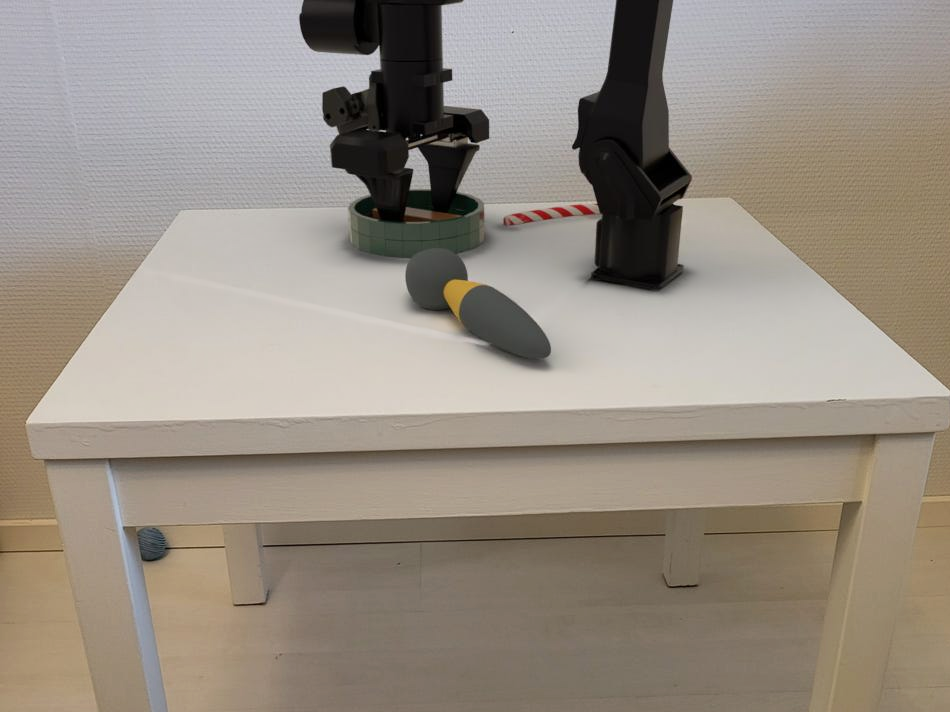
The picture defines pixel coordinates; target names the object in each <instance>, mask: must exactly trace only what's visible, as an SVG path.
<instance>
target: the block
mask: <svg viewBox="0 0 950 712" xmlns="http://www.w3.org/2000/svg"><path fill="white" fill-rule="evenodd" d="M372 213H373V219H379V220H381V219H380V216H379V214H378V211H377V209H376V208H375V209H373V210H372ZM457 217H461V215H454V214H448V213H441V212H435V211H428V210H422V209H415V208H409V207H406V211H405V216H404V221H403V222H429V221H440V220H447V219H453V218H457Z"/></svg>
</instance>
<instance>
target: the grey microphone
mask: <svg viewBox="0 0 950 712" xmlns="http://www.w3.org/2000/svg"><path fill="white" fill-rule="evenodd" d="M404 279H405V285H406V289H407V292H408V294H409V296H410V297H411V299H412V300H413V301H414V302H415V304H417V305H418V306H419V307H421V308H423V309H426V310H430V311H443V310H447V309H451V310H452V313H453V314H454V316H455V317H456V318H457V320H458V321H459V322H460V323H461V324H462V326H463V327H465V328H466V329H467V330H468V331H469V332H470V333H473V334H474V335H475V336H477V337H478V338H480V339H481V340H483V341H485V342H487V343H488V344H490V345H492V346H493V347H496V348H499V349H501V350H503V351H505V352H508V353H511V354H514V355H516V356H519V357H523V358H526V359H534V360H542V359H545V358H548V357H550V355H551V353H552V347H551V342H550V340H549V338H548V336H547V334H546V333H545V332H544V330H543V329H542V328H541V326H540V325H539V324H538V323H537V322H536V320H535V319H534V318H533V317H532V316H531V315H530V314H529V313H528V312H527V311H526V310H525V309H523V307H521V306H520V305H519V304H518V303H517V302H516V301H514V300H513V299H511V298H510V297H509V296H507V295H506V294H505V293H503V292H501V291H500V290H498V289H497V288H495V287H493V286H491V285H488V284H484V283H480V282H476V281H470V280H469V275H468V269H467V266H466V264H465V263H464V261H463V259H462V258H461V257H460V256H459V255H458V254H455V253H454V252H452V251H450V250H447V249H442V248H432V249H427V250H424V251H422V252H419V253H417V254H416V255H414V256H413V257H412V258H409V260H408V262H407V264H406V268H405V277H404Z"/></svg>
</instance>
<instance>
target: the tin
mask: <svg viewBox="0 0 950 712" xmlns="http://www.w3.org/2000/svg"><path fill="white" fill-rule="evenodd" d="M406 207H409V208H415V209H422V210H428V211H433V205H432V197H431V188H410V190H409V195H408V201H407V206H406ZM375 208H376V206H375V204H374V201H373V199H372V197H371V195H370V194H367V195H364V196H361V197H358V198H356V199H355V200H353V201H352V202H350V203H349V205H348V207H347V214H348V215H347V216H348V229H349V230H348V231H349V240H350V243H351V245H352V246H353V247H354V248H356V249H357V250H359V251H361V252H364V253H367V254H371V255H375V256H378V257H379V256H381V257H387V258H393V259H395V258H397V259H411V258H412V257H413V256H414V255H416V254H417V253H419V252H422V251H424V250H427V249H432V248H442V249H447V250H450V251H452V252H454V253H455V254H457V255H458V254H462V253H465V252H468V251H471V250H473V249H476V248H478V247H479V246H481V245H482V244H483V242H484V240H485V202H484V201H483V200H482V199H481V198H479V197H477V196H474V195H472V194H468V193H464V192H461V191H457V192H456V195H455V197H454V199H453V202H452V204H451V206H450V208H449V211H448V214H454V215H461V217H457V218H453V219H447V220H440V221H429V222H395V221H385V220H379V219H373V213H372V210H373V209H375Z"/></svg>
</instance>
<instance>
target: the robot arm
mask: <svg viewBox="0 0 950 712" xmlns="http://www.w3.org/2000/svg"><path fill="white" fill-rule="evenodd" d="M463 2H464V0H303V1H302V4H301V10H300V13H299V16H298V17H299V18H298V21H299V28H300V33H301V36H302V38H303V40H304V42H305V44H306V46H307V47H308V48H309V49H310V50H312V51H313V52H316V53H327V54H343V55H344V54H345V55H359V56H370V55H372V54H373V53H375V52H376V51H377V49H378V48H379V50H378V51H379V67H380V69H379V68H378V69H375V70H371V71H370V74H369V75H368V86H369V87H368V88H366V89H364V90H361V91H358V92H354V93H351V92H350V91H349V90H348V88H347V87H345V86H338V87H333V88H331V89H328V90H326V91H323V92H321V93H322V95H321V96H322V97H321V98H322V99H321V101H322V102H321V111H322V117H323V122H325V123H326V125H327V126H328V127H330V128H335V127H336V130H337V133H338V134H337V135H336V136H335V137H334V138H333V140H332V141H331V142H330V144H329V153H330V166H331V167H332V169H339V170H344V171H345V172H346V173H347V174H348V175H353V176H355V177H357V179H359V180H360V181H361V182H362V183H363V184H364V186H365V187H366V189H367V190H368V193H369V195H371V197H372V199H373V201H374V204H375V206H376V209H377V211H378V214H379V216H380V219H381V220H385V221H395V222H403V221H404V216H405V211H406V206H407V201H408V195H409V190H410V189H411V186H412V180H413V175H414V168H410V167H406V165H407V162H408V160H409V158H410V154H409V153H410V150H414V149H417V148H418V150H419V153H421V154H422V156H423V158H424V159H425V161H426V162H427V167H428V176H429V186H430V189H431V197H432V205H433V211H435V212H441V213H448V211H449V208H450V206H451V204H452V202H453V199H454V197H455V195H456V192H458V190H459V188H460V186H461V183H462V181H463V179H464V177H465V175H466V173H467V170H468V169H469V167H470V165H471V163H472V161H473V159H474V157H475V155H476V153H477V152H479V151H480V148H481V146H480V144H478V143H481V142H484V141H487V140H490V119H489V118H488V116H487V115H486V113H485V112H484V111H483V110H482V109H481V108H471V107H461V106H460V107H459V106H451V105H450V106H449V105H445V100H444V94H445V93H444V83H447V82H451V81H453V68H445V67H444V58H443V57H444V55H443V53H444V51H443V9H442V7H443V6H449V5H455V4H461V3H463ZM673 6H674V0H615V6H614V7H615V8H614V15H613V24H612V31H611V39H610V46H609V47H610V49H609V54H608V55H609V57H608V64H607V72H606V76H605V79H604V81H603V83H602V85H601V88H600V90H599V91H597V92H594V93H591V94H588V95H586V96H583V97H580V98H579V99H578V104H577V105H578V106H577V133H576V136H575V140H574V141H573V143H572V145H571V149H572V150H573V151H575V150H577V149H579V150H578V153H577V154H578V155H577V156H578V166H579V171H580V173H581V174H582V175H583V176H584V177H585V179H586V180H587V182H588V183H589V184H590V185H591V186H592V190H593V193H594V197H595V201H596V204H597V205H598V208H599V212H600V213H601V214H600V215H601V218H600V219H598V221H596V229H595V243H594V244H595V245H594V263H593V264H594V265H595V267H597V268H595V269H593V270H592V271H591V273H590V276H591V277H590V278H591V279H594V280H600V281H605V282H611V283H617V284H623V285H628V286H633V287H639V288H645V289H651V290H659V289H661V288H663V287H664V286H665V285H667V284H668V283H669V282H671V281H673V280H674V278H676V277H677V276H678V275H680V274H681V273H683V272H684V270H685V265H684V264H682V263H679V255H680V254H679V253H680V242H681V231H682V220H683V211H684V206H683V205H678V204H674V203H676V202H677V201H679V200H682V199H683V198H685V195H686V193H687V191H688V189H689V186H690V184H691V182H692V180H693V177H692V174H691V173H690V172H689V171H688V169H687V168H686V167H685V166H684V164H683V163H682V162H681V160H680V158H678V156H677V155H676V154H675V152H673V150H672V149H671V148H670V121H669V120H670V115H669V113H670V110H669V106H668V99H667V96H666V91H665V85H664V80H663V79H664V78H663V77H664V76H663V75H664V74H663V73H664V72H663V70H664V65H665V60H666V59H665V58H666V51H667V46H668V45H667V43H668V38H669V37H668V36H669V32H670V26H671V20H672V19H671V18H672V11H673ZM469 141H470V143H469Z"/></svg>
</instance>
